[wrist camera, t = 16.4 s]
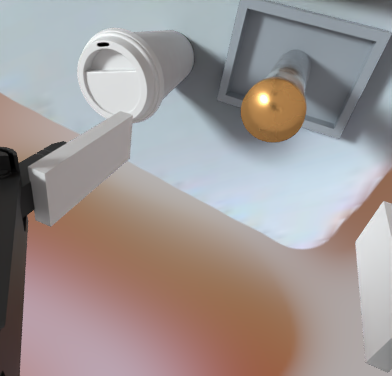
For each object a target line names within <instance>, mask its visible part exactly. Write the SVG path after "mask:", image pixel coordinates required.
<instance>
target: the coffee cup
mask: <svg viewBox="0 0 392 376" xmlns="http://www.w3.org/2000/svg"><path fill="white" fill-rule="evenodd" d="M193 64H194V52H193V49H192V46H191V44H190V42H189V41H188V39H187V38H186V37H185V36H184V35H182V34H181V33H179V32H177V31H173V30H165V31H147V32H131V31H128V30H125V29H122V28H108V29H105V30H102V31H100V32H98V33H97V34H96V35H94V36H93V37H92V38H91V39H90V40H89V41H88V43H87V44H86V46H85V48H84V50H83V52H82V54H81V56H80V58H79V62H78V69H77V74H78V81H79V85H80V88H81V91H82V93H83V95H84V97H85V99H86V100H87V102H88V103H89V105H90V106H91V107H92V108H93V109H94V110H95V111H96V112H97V113H98V114H100V115H101V116H103V117H105V118H107V119H108V118H109V117H111V116H113V115H114V114H116V113H118V112H119V111H122V112H125V113H128V114H131V115H133V120H132V123H138V122H142V121H144V120H147V119H148V118H150V117H151V116H152V115H153V114H154V113H155V112H156V111H157V110H158V108H159V106H160V104H161V102H162V100H163V99H164V98H165V97H166V96H167V95H168V94H169V93H170V92H171V91H172V90H173V89H174V88H175V87H176V86H177V85H178V84H179V83H180V82H181V81H182V80H184V79H185V78H186V77H187V76H188V75H189V73H190V72H191V70H192V68H193Z"/></svg>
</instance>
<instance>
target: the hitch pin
mask: <svg viewBox="0 0 392 376" xmlns="http://www.w3.org/2000/svg"><path fill="white" fill-rule="evenodd" d="M310 71H311V60H310V58H309V56H308V55H307V54H306V53H305V52H303V51H301V50H290V51H288V52H286V53H284V54H283V55H282V56H281V58H280V59H279V60H278V62H277V63H276V65H275V66H274V67H273V69H272V70H271V71H270V73H269V74H268V76H267V77H266V78H265V79H263V80H261V81H259V82H257V83H256V84H255V85H253V86H252V88H251V89H250V90H249V91H248V92H247V94H246V95H245V97H244V99H243V102H242V105H241V118H242V121H243V124H244V126H245V128H246V129H247V130H248V132H249V133H250V134H252V135H253V136H254V137H256V138H257V139H259V140H262V141H265V142H281V141H284V140H287V139H289V138H291V137H292V136H293V135H295V134H296V133H297V132H298V131H299V129H300V128H301V126H302V125H303V122H304V119H305V115H306V110H307V104H306V99H305V96H304V94H305V90H306V86H307V83H308V79H309V75H310Z"/></svg>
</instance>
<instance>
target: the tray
mask: <svg viewBox="0 0 392 376" xmlns="http://www.w3.org/2000/svg"><path fill="white" fill-rule="evenodd" d="M391 35H392V33H390V32H389V31H387V30H383V29H379V28H375V27H371V26H367V25H363V24H359V23H355V22H351V21H347V20H343V19H339V18H335V17H331V16H327V15H323V14H319V13H315V12H311V11H307V10H303V9H299V8H295V7H291V6H287V5H283V4H279V3H275V2H271V1H267V0H240V2H239V6H238V11H237V15H236V19H235V23H234V28H233V32H232V36H231V41H230V45H229V49H228V53H227V58H226V62H225V66H224V71H223V75H222V79H221V83H220V88H219V92H218V96H217V101H220V102H224V103H227V104H230V105H233V106H236V107H239V108H241V105H242V102H243V99H244V97H245V95H246V94H247V92H248V91H249V90H250V89H251V88H252V86H253V85H255V84H256V83H257V82H259V81H261V80H263V79H265V78H266V77H267V76H268V74H269V73H270V71H271V70H272V69H273V67H274V66H275V65H276V63H277V62H278V60H279V59H280V58H281V56H282V55H283V54H284V53H286V52H288V51H290V50H301V51H303V52H305V53H306V54H307V55H308V56H309V58H310V60H311V71H310V75H309V79H308V83H307V86H306V90H305V94H304V96H305V99H306V104H307V110H306V115H305V119H304V122H303V125H302V126H301V127H302V128H305V129H309V130H312V131H315V132H318V133H321V134H324V135H328V136H331V137H334V138H337V139H339V138H340V136H341V134H342V132H343V130H344V128H345V126H346V124H347V122H348V120H349V118H350V116H351V114H352V112H353V110H354V108H355V106H356V104H357V102H358V100H359V98H360V96H361V94H362V92H363V90H364V88H365V86H366V84H367V82H368V80H369V78H370V76H371V74H372V72H373V70H374V68H375V66H376V64H377V62H378V60H379V58H380V56H381V54H382V52H383V50H384V49H385V47H386V45H387V43H388V41H389V39H390V37H391Z"/></svg>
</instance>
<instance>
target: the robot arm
mask: <svg viewBox="0 0 392 376" xmlns="http://www.w3.org/2000/svg"><path fill="white" fill-rule="evenodd" d="M132 120H133V115H131V114H128V113H125V112H122V111H119V112H118V113H116V114H114V115H113V116H111V117H109V118H108V119H106V120H104V121H103V122H101V123H99V124H98V125H96V126H94V127H93V128H91V129H89V130H88V131H86V132H84V133H83V134H81V135H79V136H78V137H76V138H75V139H73V140H71V141H70V142H68V143H66V142H64V141H63V142H58V143H54V144H51V145H50V146H48V147H46V148H44V150H41V151H39V152H37V154H34V155H32V156H30V157H29V158H27V159H25V160H24V161H22V162H20V163H18V157H17V153H16V152H15V151H14V150H13V149H10V148H7V147H0V376H20V355H21V339H22V338H21V337H22V320H23V303H24V284H25V267H26V249H27V232H28V218H27V215H28V214H29V213H30V212H32V211H33V210H34V212H35V219H36V220H37V221H39V222H41V223H44V224H46V225H48V226H52V225H53V224H54V223H56V222H57V221H58V220H59V219H60V218H61V217H62V216H64V215H65V214H66V213H67V212H68V211H69V210H71V209H72V208H73V207H74V206H75V205H76V204H78V203H79V202H80V201H81V200H82V199H83V198H84V197H86V196H87V195H88V194H89V193H90V192H92V190H94V189H95V188H96V187H97V186H98V185H99V184H101V183H102V182H103V181H104V180H105V179H106V178H108V177H109V176H110V175H111V174H112V173H114V172H115V171H116V170H117V169H118V168H119V167H120V166H122V165H123V164H124V163H125V162H126V161H127V160H129V159H130V147H131V134H132ZM356 255H357V267H358V279H359V291H360V303H361V315H362V327H363V339H364V351H365V363H367V364H369V365H371V366H374V367H376V368H378V369H381V370H383V371H385V372H389V371H390V370H391V369H392V204H390V203H388V202H385V201H383V202H382V204H381V205H380V207H379V209H378V210H377V211H376V213H375V215H374V216H373V217H372V219H371V220H370V222H369V223H368V224H367V226H366V227H365V229H364V230H363V232H362V233H361V235H360V236H359V238H358V239H357V241H356Z"/></svg>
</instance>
